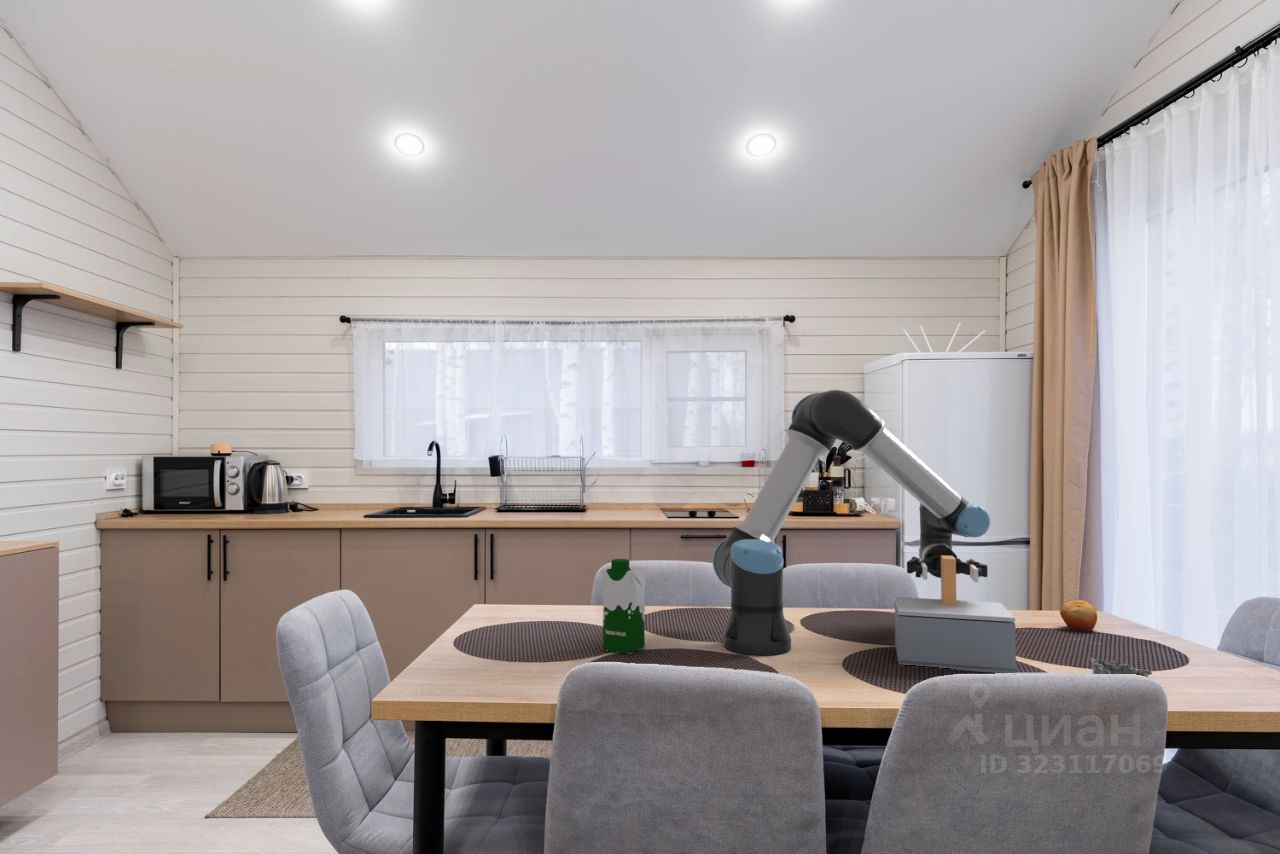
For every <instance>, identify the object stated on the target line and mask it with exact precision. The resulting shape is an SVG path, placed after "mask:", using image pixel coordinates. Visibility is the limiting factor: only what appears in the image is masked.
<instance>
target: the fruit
mask: <svg viewBox="0 0 1280 854" xmlns="http://www.w3.org/2000/svg"><path fill="white" fill-rule="evenodd" d="M1059 615H1060V617H1061V619H1062V620H1063V622H1064V623H1065V625H1066V626H1067V627H1068V628H1069V630H1077V631H1092V630H1094V628H1095V627H1096V625H1097V622H1098V613H1097V609H1096V607H1095V606H1094V605H1092V604H1091V603H1089V602H1087V601H1085V600H1081V599H1080V600H1079V599H1078V600H1069V601H1066V602H1065V603H1063V604H1062V606H1061V607H1060V609H1059Z"/></svg>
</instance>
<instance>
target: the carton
mask: <svg viewBox="0 0 1280 854" xmlns="http://www.w3.org/2000/svg"><path fill="white" fill-rule="evenodd" d="M894 636H895V637H894V640H895V641H894V642H895V643H894V644H895V645H894V646H895V652H897V653H896V658H897V657H898V658H897V662H898V663H899V664H905V665H920V666H932V667H944V668H951V669H950V670H954V669H956V670H955V671H957V670H958V671H969V672H983V673H991V674H992V673H994V674H995V673H997V674H1005V673H1016V674H1017V655H1016V654H1017V653H1016V650H1017V649H1016V648H1017V647H1016V643H1017V642H1016V640H1017V639H1016V622H1008V621H991V620H975V619H958V618H942V617H926V616H909V615H898V612H897V608H896V603H895V602H894ZM899 664H898V665H899Z"/></svg>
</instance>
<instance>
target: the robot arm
mask: <svg viewBox="0 0 1280 854" xmlns="http://www.w3.org/2000/svg"><path fill="white" fill-rule="evenodd" d="M786 434H787V438H788V441H787V442H786V444H785V446H784V448H783V450H782V452H781V453H780V456H779V457H778V459H777V460H776V463H775V464H774V466H773V468H772V470H771V472H770V473H769V475H768V477H767V479H766V480H765V482H764V484H763V486H762V488H761V489H760V491H759V493H758V495H757V497H756V499H755V500H754V503H753V504H752V506H751V508H750V510H749V512H748V513H747V515H746V516H745V519H744V520H743V522H742V523H740V524H736V525H734V526H733V527H732V529H731V530H730V532H729V535H728V536H727V538H726V539H725V540H723V541H721V542H720V543H719V544H718V545H717V546H716V548H715V550H714V552H713V555H712V567H713V570H714V573H715V575H716V576H717V578H718V579H719V580H720V581H721V582H722V583H723V584H724V585H726V586H727V587H729V588H730V603H731V604H730V607H731V608H730V613H729V616H728V620H727V624H726V627H725V629H724V633H723V640H722V641H723V643H722V644H723V647H724V648H725V649H727V650H729V651H731V652H735V653H740V654H745V655H746V654H747V655H757V656H771V655H778V654H779V655H780V654H784V653H787V652H790V651H791V649H792V637H791V634H790V631H789V628H788V624H787V622H786V619H785V616H784V615H785V614H784V564H785V561H784V557H783V555H784V554H783V549H782V548H781V546H780V545H779V544H777V543H776V542H775V539H776V537H777V535H778V533H779V532H780V530H781V528H782V526H783V524H784V522H785V520H786V519H787V517H788V515H789V514H790V512H791V510H792V508H793V506H794V504H795V502H797V501H796V500H797V499H798V497H799V495H800V493H801V491H802V490H803V489H804V486H805V484H806V482H807V481H808V479H809V477H810V476H811V473H812V471H813V470H814V468H815V466H816V464H817V462H818V461H819V460H820V459H819V458H820V457H822V456H825V455H829V453H830V452H831V449H832V448H833V446H834V444H835V443H836V441H837V440H839V441H841V442H843V443H844V444H846V445H848V446H849V447H850V448H851V449H852V450H854V451H857V452H858V451H861V452H862V453H863V454H865V456H867V458H869V459H870V460H872V462H873V463H874V464H876V465H877V466H878V467H879V468H880V469H881V470H882V471H884V472H885V473H886V474H887V475H888V476H890V478H892V479H893V480H894V481H895V482H896V483H898V485H900V486H901V487H902V488H903V489H904V490H905V491H906V492H907V493H908V494H910V495H911V496H912V497H913V498H915V500H917V501H918V502H919V509H918V510H919V528H920V529H919V531H920V532H919V533H920V536H919V549H918V553H919V554H918V556H919V557H916V556H911V558H910V559H909V560H907V562H906V573H907V574H913V573H914V572H915V578H922V580H924V581H926V580H928V573H929V574H930V575H931V576H934V577H935V578H939V579H941V555H945V556H953V557H954V558H955V559H956V575H960V574H963V575H965V576H969V577H970V579H971V580H972V581H973V583H979V578H982V577H983V578H987V577H988V574H989V573H988V565H987V564H985V563H981V562H979V561H975V559H973V558H970V559H966V560H965V561H962V560H961V559H960V558H958V555H957V554H956V553H955V552H954V550H953V541H952V540H953V535H955V536H960V537H964V538H980V537H983V535H985V534H986V533H987V532H988V531H989V528H990V525H991V519H990V515H989V513H988V512H987V510H986V509H985V508H983V507H982V506H978V505H976V504H971V503H969V501H967V500H966V498H964V497H963V496H962V495H961V494H959V493H958V492H957V491H956V490H954V488H952V486H950V485H949V484H948V483H947V482H946V481H945V480H943V479H942V478H941V477H940V476H939V475H938V474H937V473H936V472H935V471H934V470H932V468H930V466H928V465H927V464H926V463H924V461H922V459H920V458H919V457H918V456H917V455H916V454H915V453H914V452H913V451H912V450H911V449H910V448H908V447H907V446H906V445H905V444H903V442H901V441H900V440H899V439H898V438H897V437H896V436H895V435H894V434H893V433H891V432H890V430H889V429H887V428H886V427H885V421H884V419H882V417H880V416H879V415H878V414H877V413H876V412H875V411H873V409H871V408H870V407H869V406H868V405H867V404H865V403H864V402H863V401H862V400H860V398H857V397H856V396H855V395H854V394H851V393H849V392H847V391H845V390H842V389H833V390H832V389H831V390H827V391H824V392H823V391H822V392H815V393H810V394H808V395H807V396H804V397H803V398H802V399H800V400H799V401H798V402H797V403H796V404H795V406H794V408H793V410H792V413H791V423H790V425H789V427H788V428H787V430H786Z"/></svg>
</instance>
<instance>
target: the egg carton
mask: <svg viewBox="0 0 1280 854" xmlns="http://www.w3.org/2000/svg"><path fill="white" fill-rule="evenodd" d="M1090 661H1091V662H1092V664H1093V665H1092V675H1093V674H1136V675H1141V676H1145V677H1147V678H1149V677H1148V676H1150V675H1151V676H1152V674H1153V673H1152V670H1150V669H1147V668H1145V669H1142V668H1140V669H1139V668H1136V667H1130V665H1129V664H1128V663H1126V662H1122V664H1119V663H1118V661H1117V660H1114V661H1111V660H1108V659H1107V660H1104V659H1103V658H1102V659H1096V658H1093V657H1090Z"/></svg>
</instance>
